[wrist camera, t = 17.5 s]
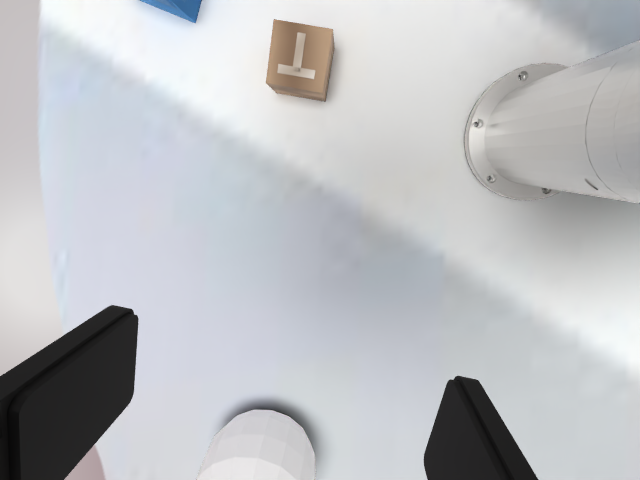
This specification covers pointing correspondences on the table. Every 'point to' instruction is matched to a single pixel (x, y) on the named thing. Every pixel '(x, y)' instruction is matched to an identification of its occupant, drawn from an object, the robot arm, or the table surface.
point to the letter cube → (300, 60)
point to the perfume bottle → (178, 7)
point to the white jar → (259, 450)
